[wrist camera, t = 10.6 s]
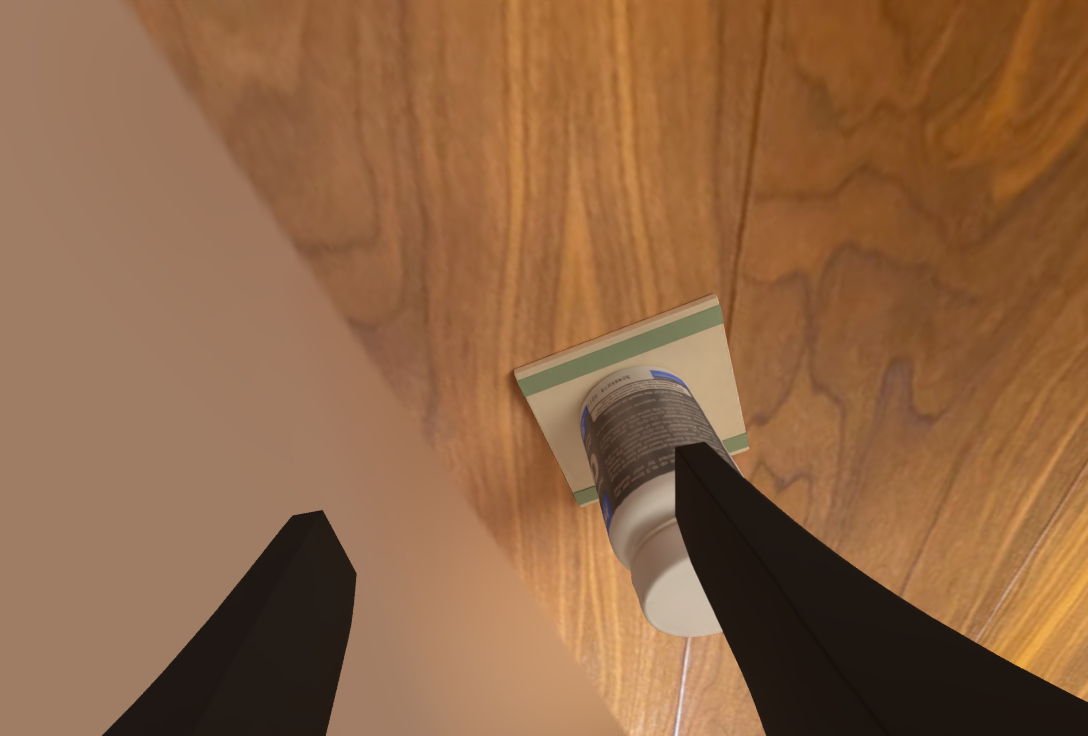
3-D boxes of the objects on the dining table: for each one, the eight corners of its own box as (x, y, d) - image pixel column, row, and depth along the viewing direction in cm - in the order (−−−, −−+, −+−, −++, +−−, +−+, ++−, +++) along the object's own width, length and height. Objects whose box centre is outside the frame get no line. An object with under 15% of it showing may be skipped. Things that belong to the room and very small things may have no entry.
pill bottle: (554, 409, 21) (593, 600, 14) (652, 340, 20) (751, 510, 12) (620, 473, 23) (683, 665, 16) (712, 414, 22) (825, 593, 15)
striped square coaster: (579, 501, 24) (580, 509, 24) (513, 369, 20) (513, 375, 20) (745, 444, 23) (750, 451, 23) (713, 292, 19) (718, 298, 19)
